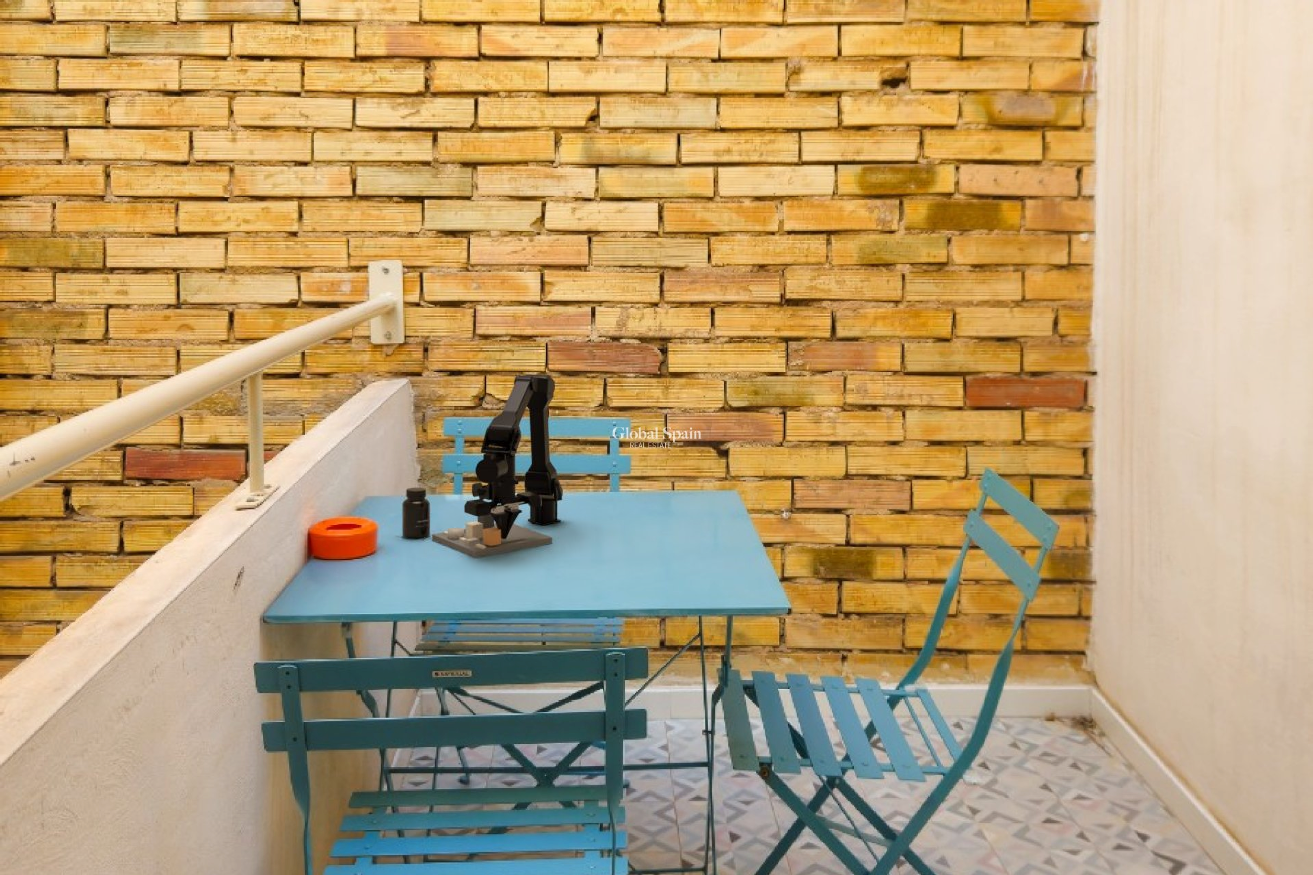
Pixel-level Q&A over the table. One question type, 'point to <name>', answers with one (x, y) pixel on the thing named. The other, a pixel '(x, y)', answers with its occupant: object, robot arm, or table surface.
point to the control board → (477, 548)
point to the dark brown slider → (486, 521)
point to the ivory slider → (474, 530)
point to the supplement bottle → (416, 514)
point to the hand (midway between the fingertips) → (503, 538)
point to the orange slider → (492, 536)
